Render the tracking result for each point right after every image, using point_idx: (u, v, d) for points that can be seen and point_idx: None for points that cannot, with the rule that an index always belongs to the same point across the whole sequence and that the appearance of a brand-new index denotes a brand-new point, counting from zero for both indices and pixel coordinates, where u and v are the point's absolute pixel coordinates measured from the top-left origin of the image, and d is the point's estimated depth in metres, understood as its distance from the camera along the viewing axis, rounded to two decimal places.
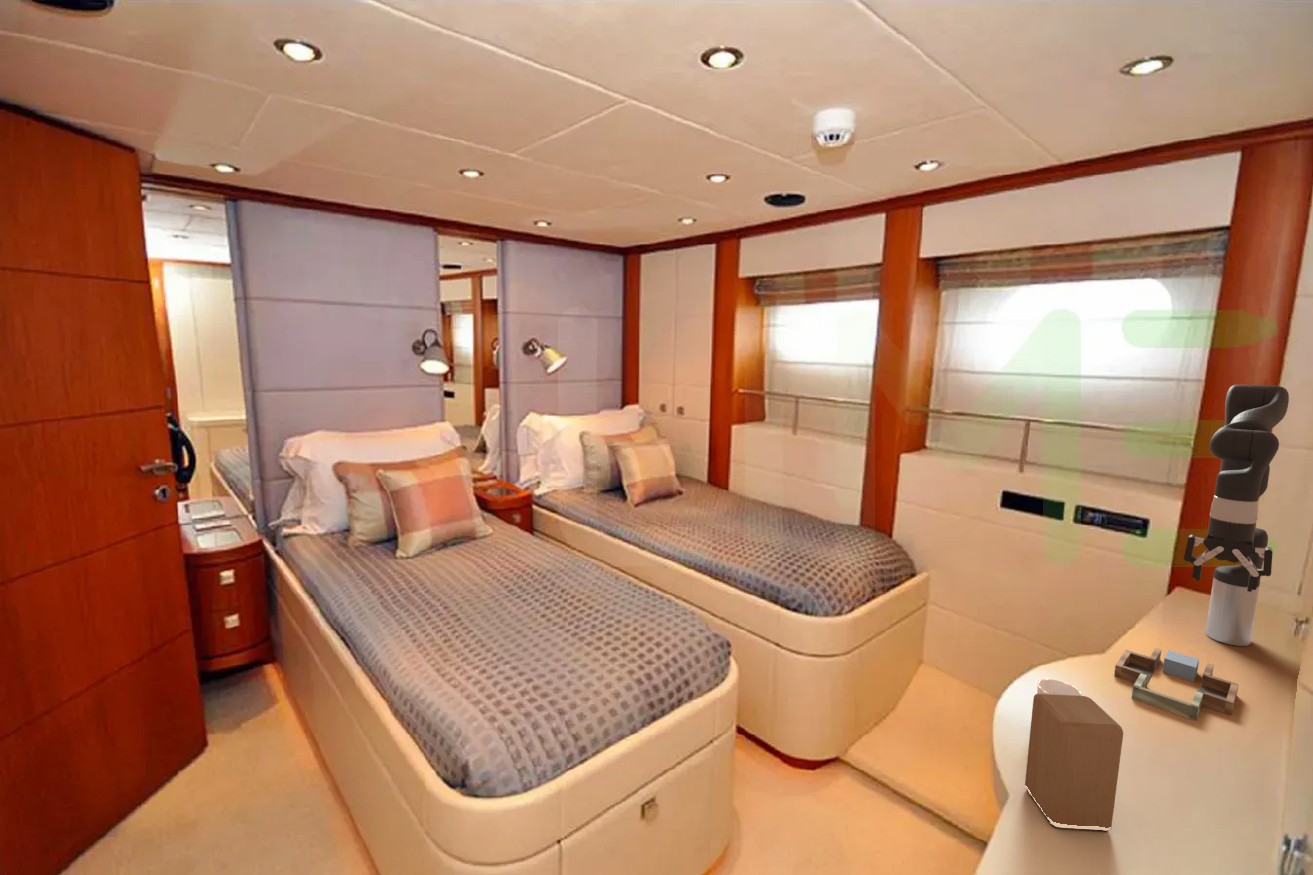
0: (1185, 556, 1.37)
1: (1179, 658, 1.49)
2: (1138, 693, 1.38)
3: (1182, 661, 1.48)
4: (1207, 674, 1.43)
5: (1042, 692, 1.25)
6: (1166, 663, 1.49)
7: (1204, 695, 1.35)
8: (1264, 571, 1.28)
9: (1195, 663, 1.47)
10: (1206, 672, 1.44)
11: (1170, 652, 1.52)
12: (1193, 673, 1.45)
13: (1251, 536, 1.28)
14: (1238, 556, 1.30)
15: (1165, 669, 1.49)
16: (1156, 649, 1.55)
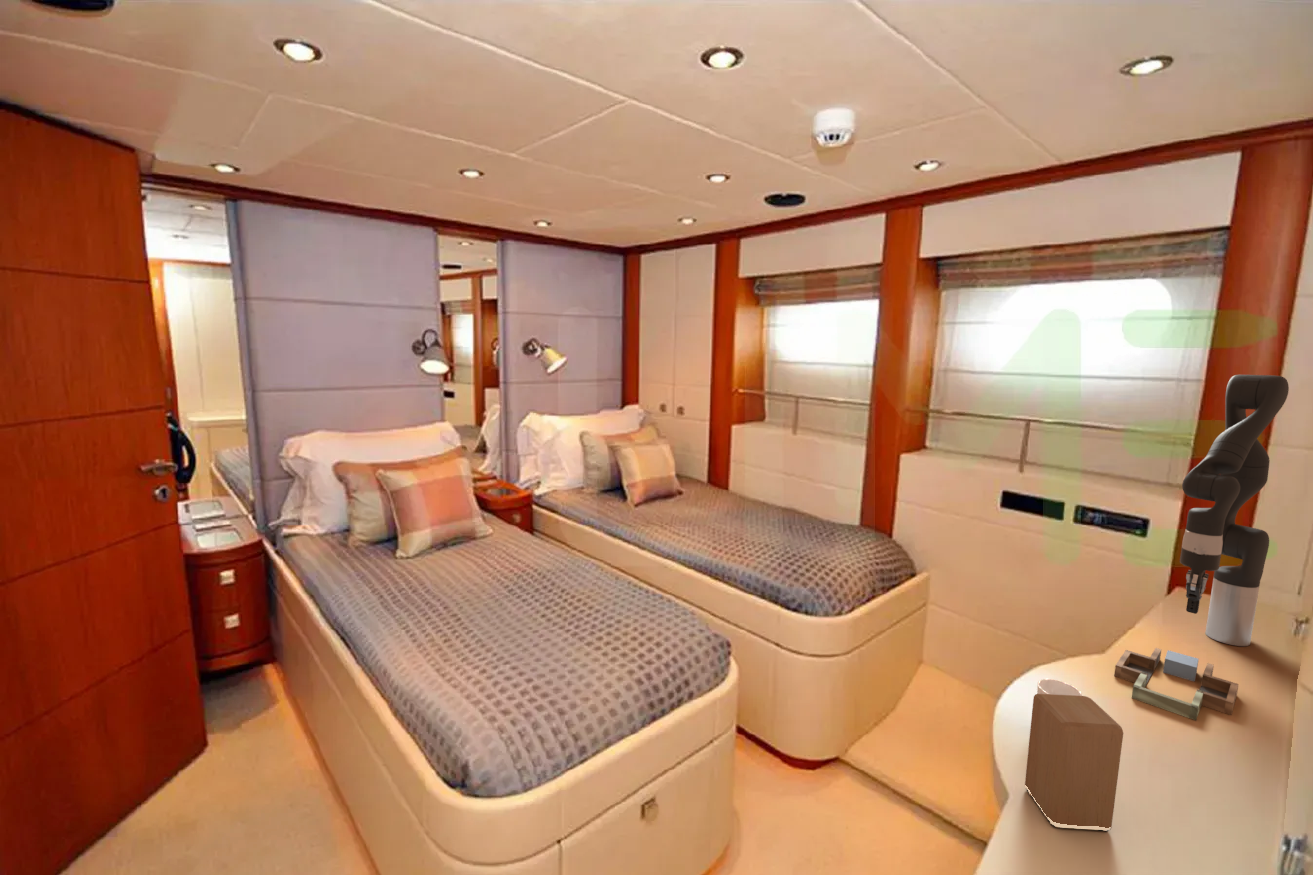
0: (1199, 598, 1.50)
1: (1179, 658, 1.49)
2: (1138, 693, 1.38)
3: (1182, 662, 1.47)
4: (1207, 674, 1.43)
5: (1042, 692, 1.25)
6: (1166, 663, 1.49)
7: (1204, 695, 1.35)
8: None
9: (1196, 663, 1.47)
10: (1206, 672, 1.44)
11: (1170, 652, 1.52)
12: (1194, 673, 1.45)
13: None
14: (1206, 580, 1.51)
15: (1166, 669, 1.49)
16: (1156, 649, 1.55)
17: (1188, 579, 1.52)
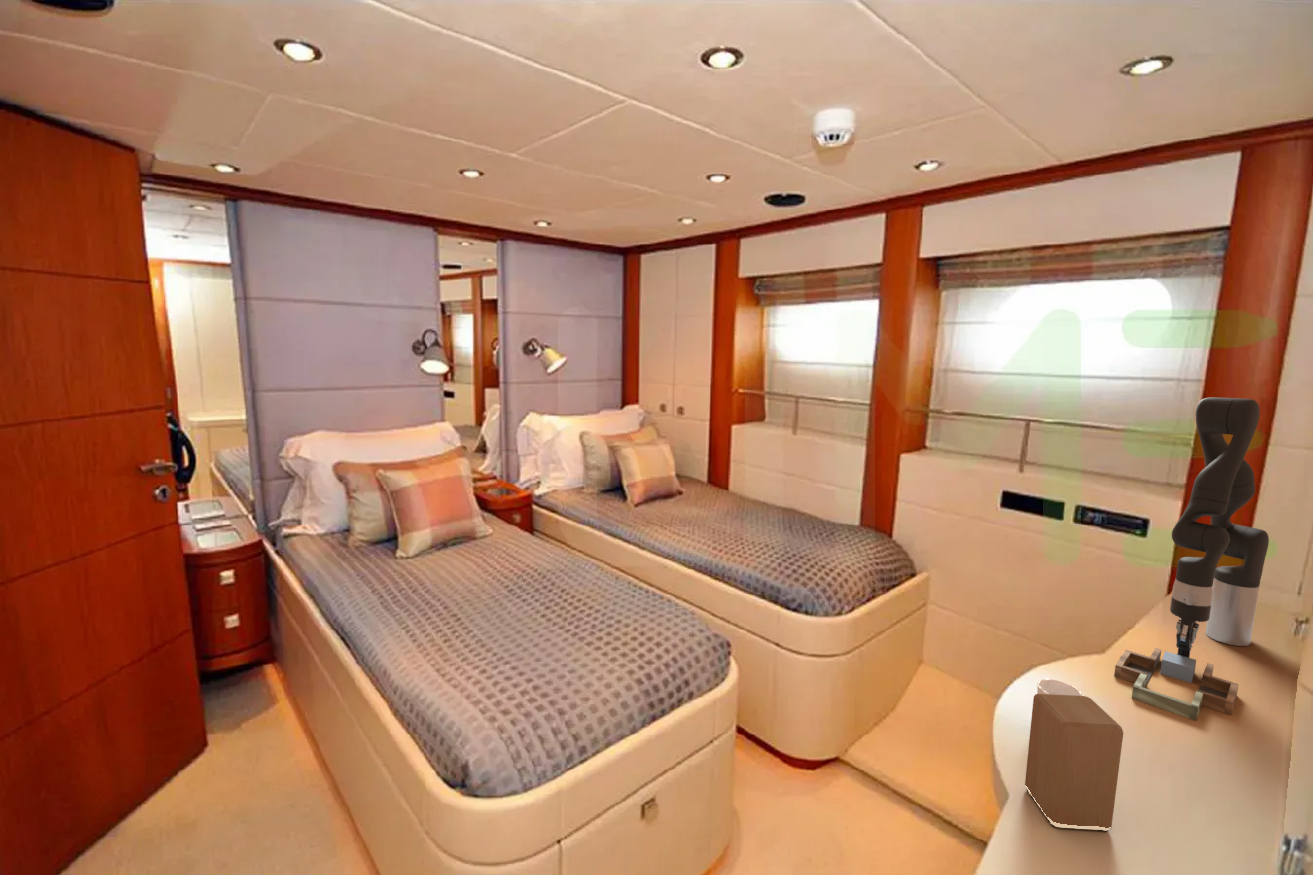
0: (1189, 648, 1.48)
1: (1176, 659, 1.48)
2: (1138, 693, 1.38)
3: (1179, 663, 1.47)
4: (1207, 674, 1.43)
5: (1042, 692, 1.25)
6: (1164, 664, 1.48)
7: (1204, 695, 1.35)
8: None
9: (1193, 664, 1.46)
10: (1206, 672, 1.44)
11: (1167, 653, 1.51)
12: (1191, 674, 1.45)
13: None
14: None
15: (1163, 670, 1.49)
16: (1156, 649, 1.55)
17: (1178, 629, 1.50)
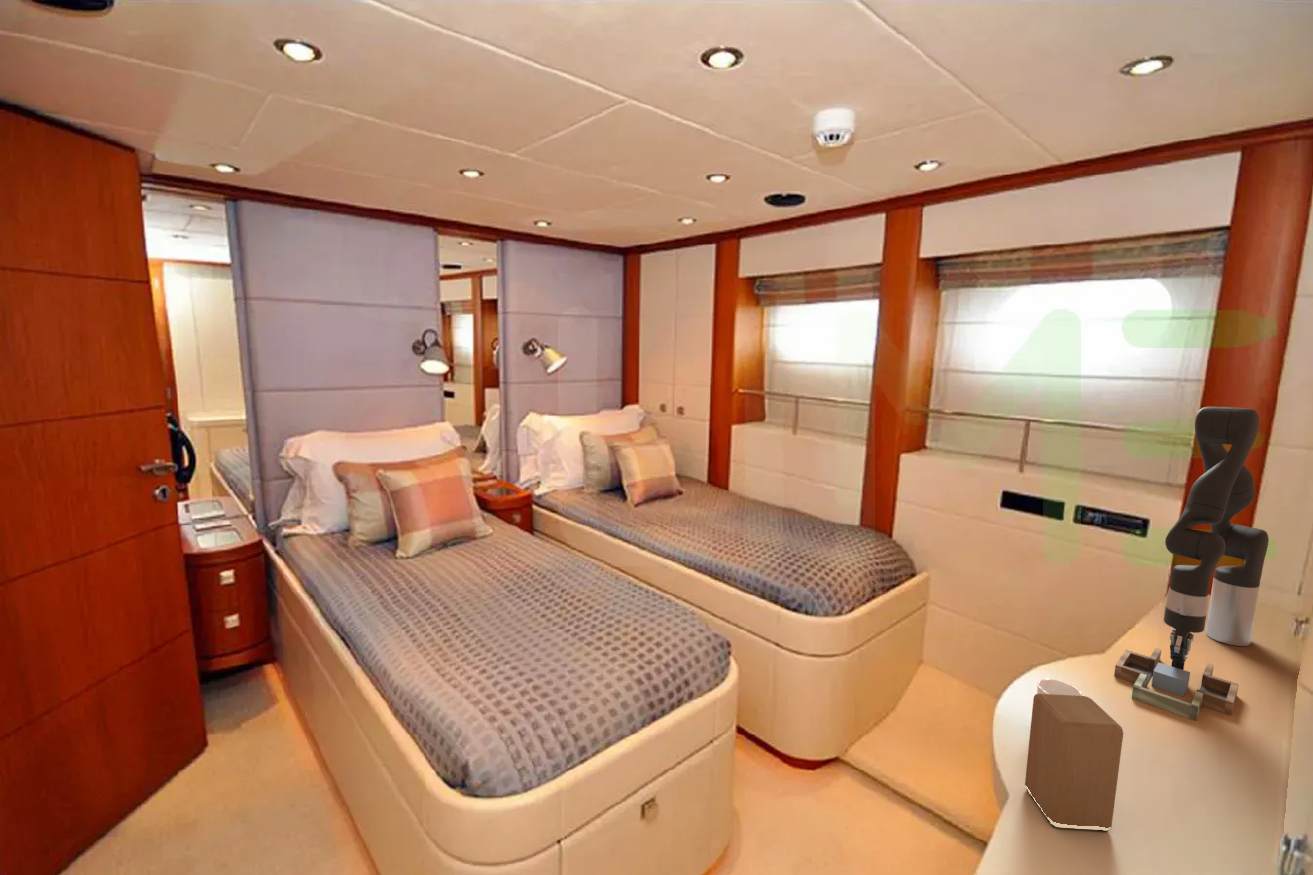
0: (1183, 660, 1.42)
1: (1169, 671, 1.43)
2: (1138, 693, 1.38)
3: (1172, 675, 1.41)
4: (1207, 674, 1.43)
5: (1042, 692, 1.25)
6: (1155, 676, 1.43)
7: (1204, 695, 1.35)
8: None
9: (1186, 677, 1.40)
10: (1206, 672, 1.44)
11: (1160, 664, 1.46)
12: (1183, 687, 1.39)
13: None
14: (1191, 641, 1.44)
15: (1154, 682, 1.43)
16: (1156, 649, 1.55)
17: (1172, 640, 1.45)
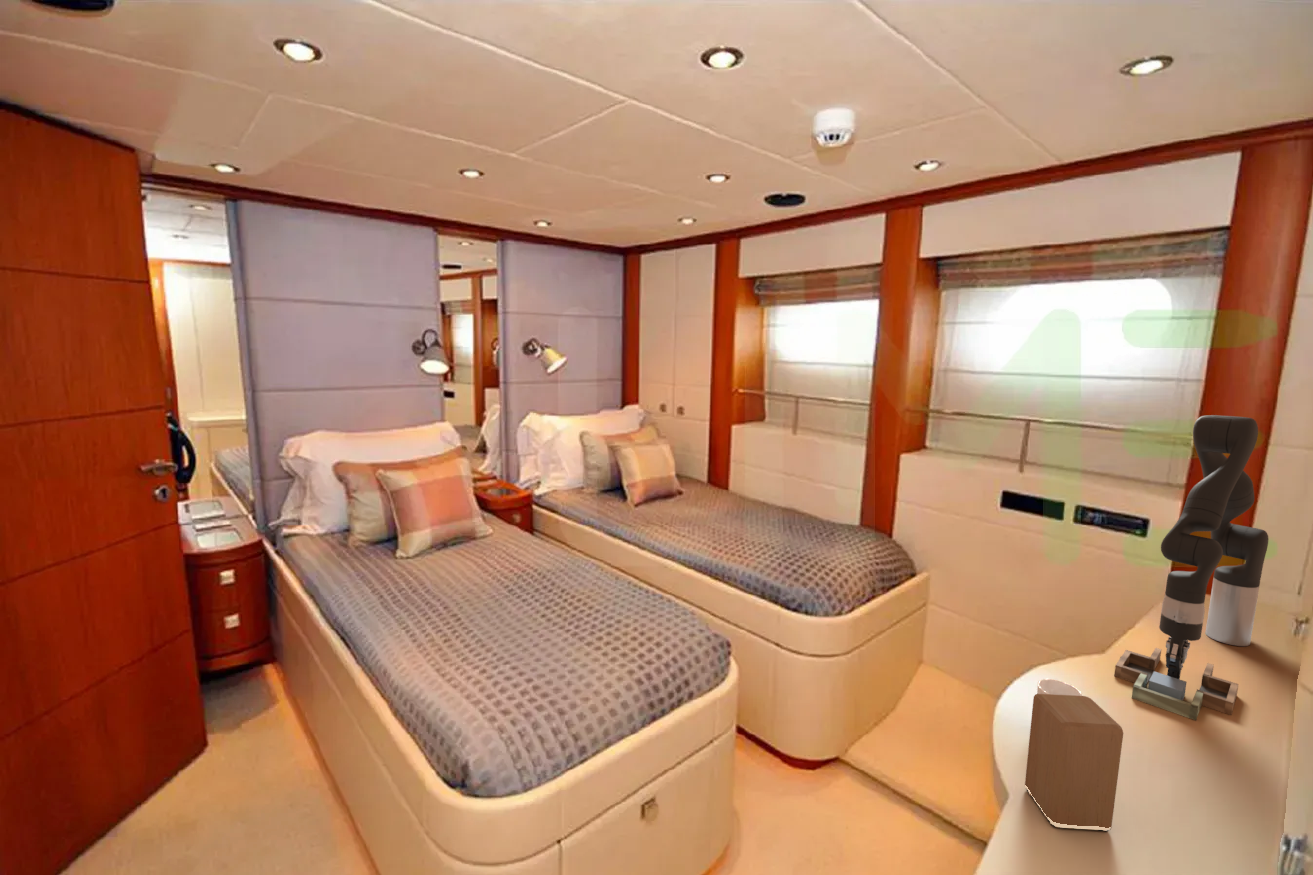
0: (1179, 669, 1.39)
1: (1165, 681, 1.39)
2: (1138, 693, 1.38)
3: (1167, 684, 1.38)
4: (1207, 674, 1.43)
5: (1042, 692, 1.25)
6: (1150, 685, 1.39)
7: (1204, 695, 1.35)
8: None
9: (1182, 687, 1.37)
10: (1206, 672, 1.44)
11: (1156, 674, 1.42)
12: (1179, 697, 1.35)
13: None
14: None
15: None
16: (1156, 649, 1.55)
17: (1168, 648, 1.41)
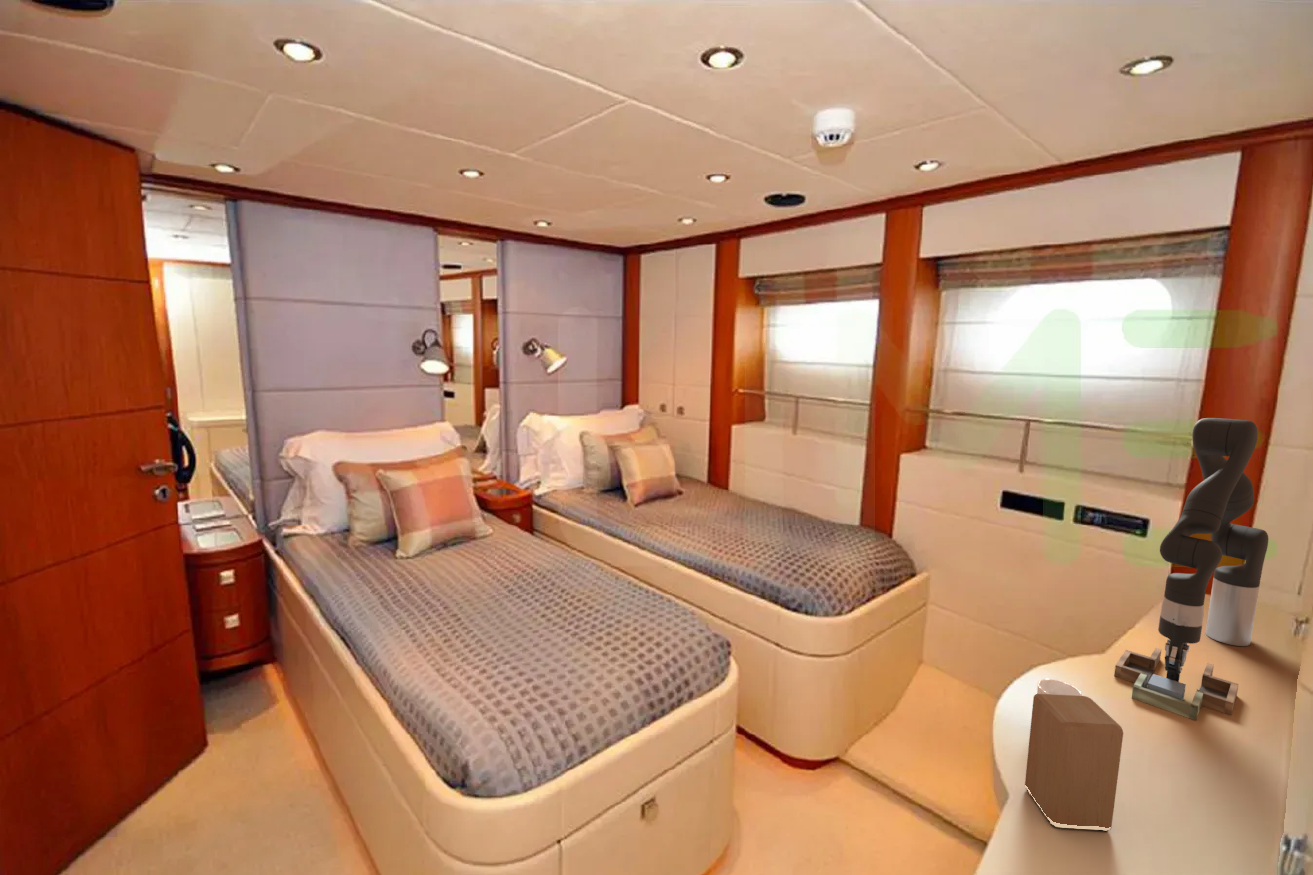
0: (1178, 672, 1.38)
1: (1164, 683, 1.38)
2: (1138, 693, 1.38)
3: (1167, 687, 1.37)
4: (1207, 674, 1.43)
5: (1042, 692, 1.25)
6: (1150, 688, 1.38)
7: (1204, 695, 1.35)
8: None
9: (1181, 689, 1.36)
10: (1206, 672, 1.44)
11: (1154, 676, 1.41)
12: None
13: None
14: None
15: None
16: (1156, 649, 1.55)
17: (1167, 650, 1.40)
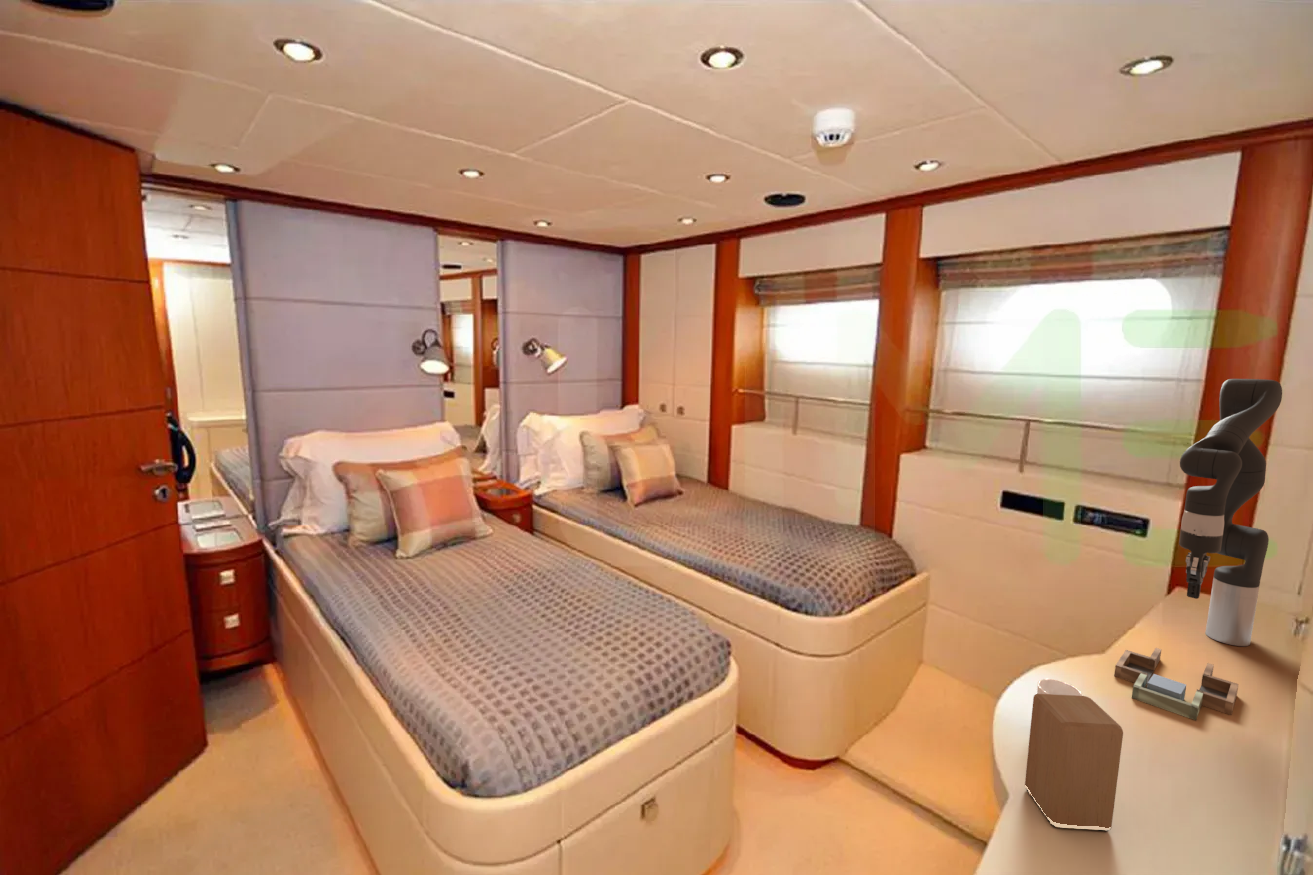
0: (1200, 582, 1.40)
1: (1164, 683, 1.38)
2: (1138, 693, 1.38)
3: (1166, 687, 1.37)
4: (1207, 674, 1.43)
5: (1042, 692, 1.25)
6: (1149, 688, 1.38)
7: (1204, 695, 1.35)
8: None
9: (1181, 690, 1.36)
10: (1206, 672, 1.44)
11: (1155, 676, 1.41)
12: None
13: None
14: (1207, 563, 1.42)
15: None
16: (1156, 649, 1.55)
17: (1188, 562, 1.43)
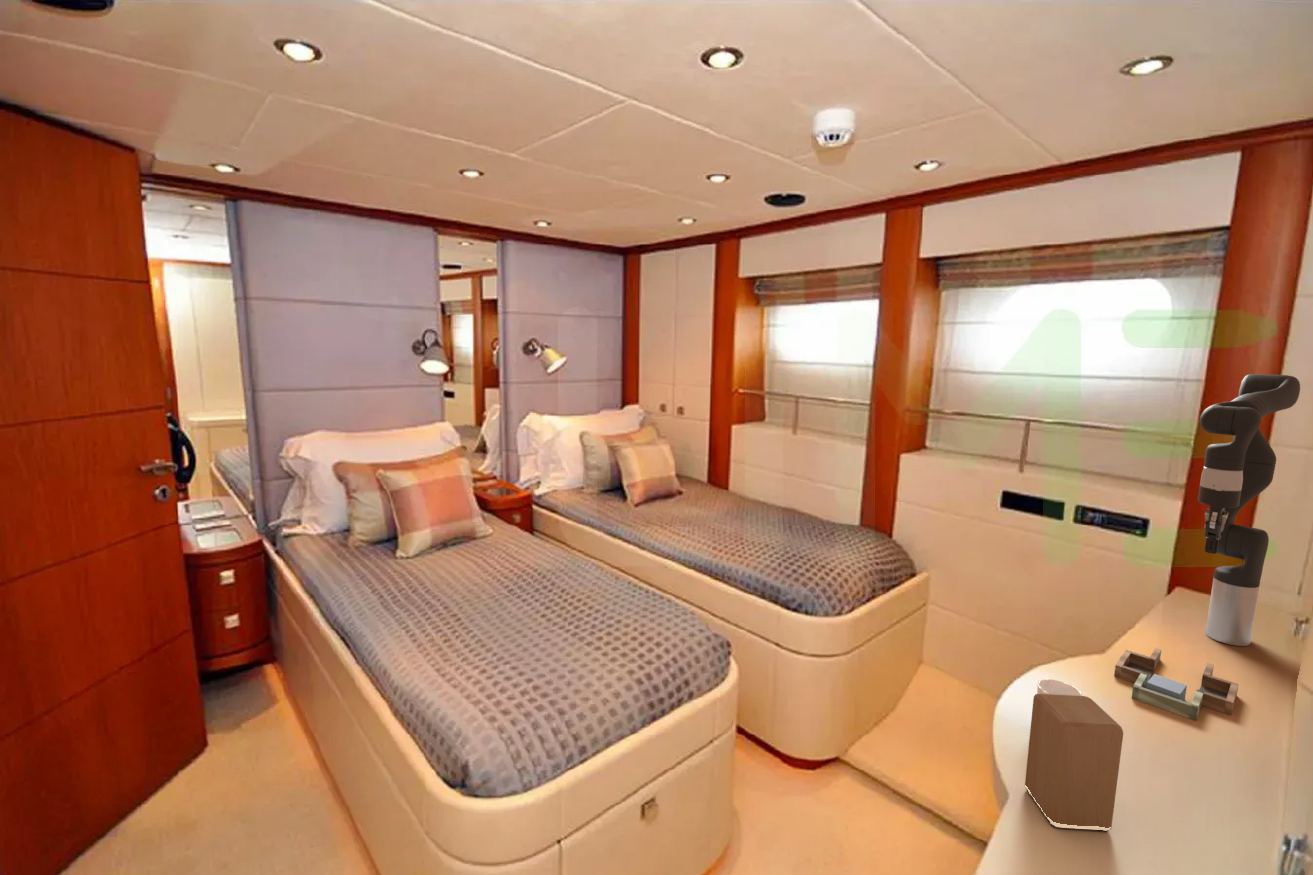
0: (1218, 536, 1.44)
1: (1164, 683, 1.38)
2: (1138, 693, 1.38)
3: (1166, 687, 1.37)
4: (1207, 674, 1.43)
5: (1042, 692, 1.25)
6: (1149, 687, 1.39)
7: (1204, 695, 1.35)
8: None
9: (1181, 690, 1.35)
10: (1206, 672, 1.44)
11: (1156, 676, 1.41)
12: None
13: None
14: None
15: None
16: (1156, 649, 1.55)
17: (1207, 518, 1.47)
